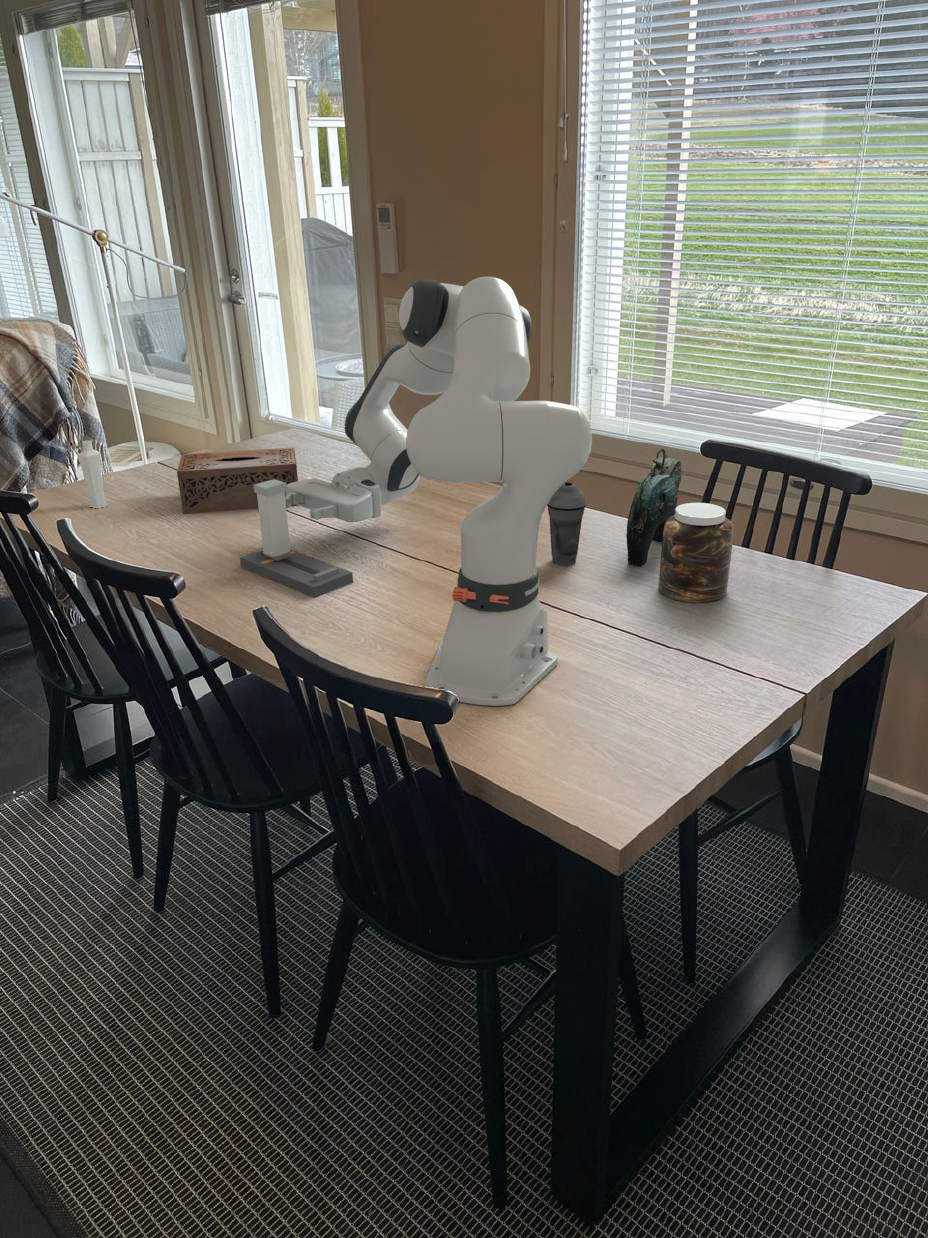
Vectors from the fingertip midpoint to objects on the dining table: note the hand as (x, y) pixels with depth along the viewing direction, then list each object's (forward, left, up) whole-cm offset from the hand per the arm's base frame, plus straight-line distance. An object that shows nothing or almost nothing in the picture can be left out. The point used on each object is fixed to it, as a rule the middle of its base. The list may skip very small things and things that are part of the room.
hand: (296, 509), depth 177 cm
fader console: (-7, -3, -10) cm, 13 cm away
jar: (+9, -74, -10) cm, 75 cm away
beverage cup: (+15, -49, -10) cm, 52 cm away
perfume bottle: (+15, +60, -10) cm, 63 cm away
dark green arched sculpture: (+26, -64, -10) cm, 70 cm away
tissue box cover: (+29, +31, -11) cm, 44 cm away
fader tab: (-5, +2, -8) cm, 9 cm away
